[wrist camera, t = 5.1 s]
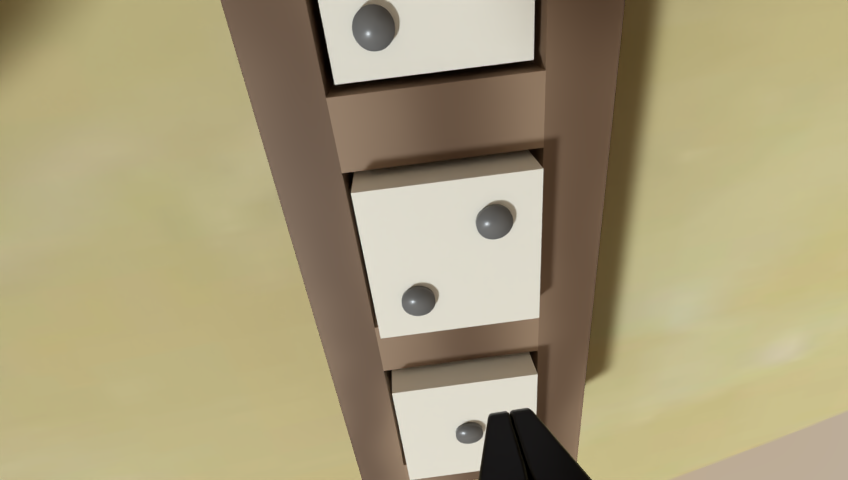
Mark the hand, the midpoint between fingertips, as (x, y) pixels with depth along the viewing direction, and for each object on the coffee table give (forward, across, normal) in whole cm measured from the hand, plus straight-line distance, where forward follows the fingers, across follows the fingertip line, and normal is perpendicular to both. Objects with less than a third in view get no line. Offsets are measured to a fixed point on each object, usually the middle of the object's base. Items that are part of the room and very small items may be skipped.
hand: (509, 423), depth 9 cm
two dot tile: (+10, 0, +1) cm, 10 cm away
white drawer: (+10, +1, +10) cm, 14 cm away
